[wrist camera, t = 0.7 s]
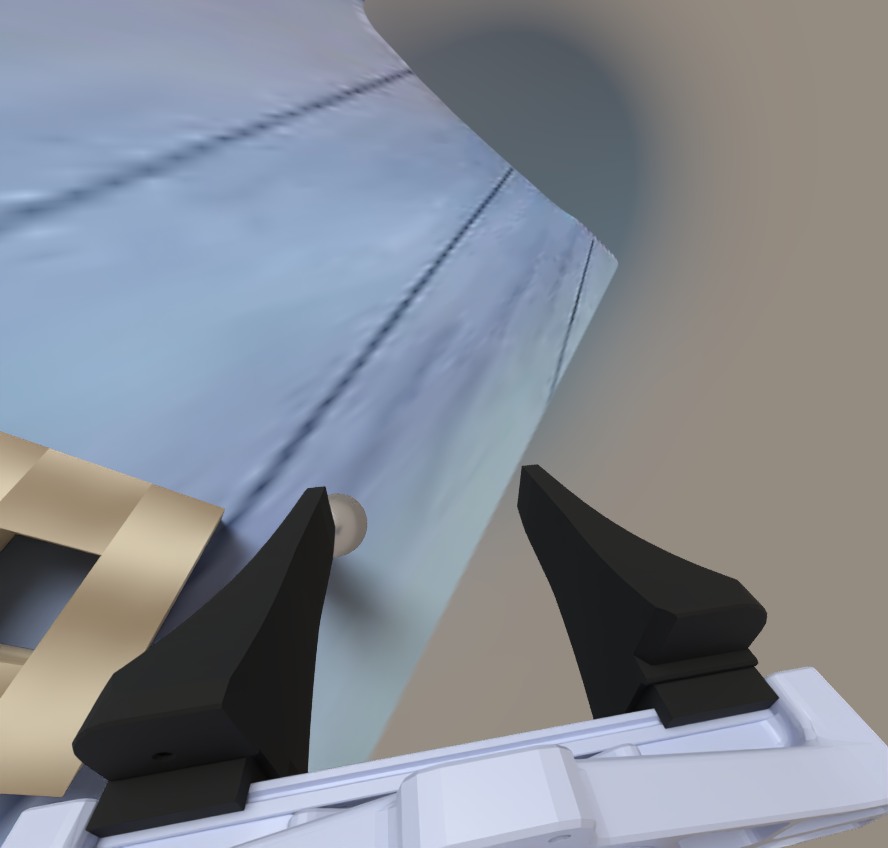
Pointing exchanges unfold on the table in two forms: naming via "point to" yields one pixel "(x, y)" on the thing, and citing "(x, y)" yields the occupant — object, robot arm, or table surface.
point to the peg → (347, 523)
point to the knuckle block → (86, 597)
